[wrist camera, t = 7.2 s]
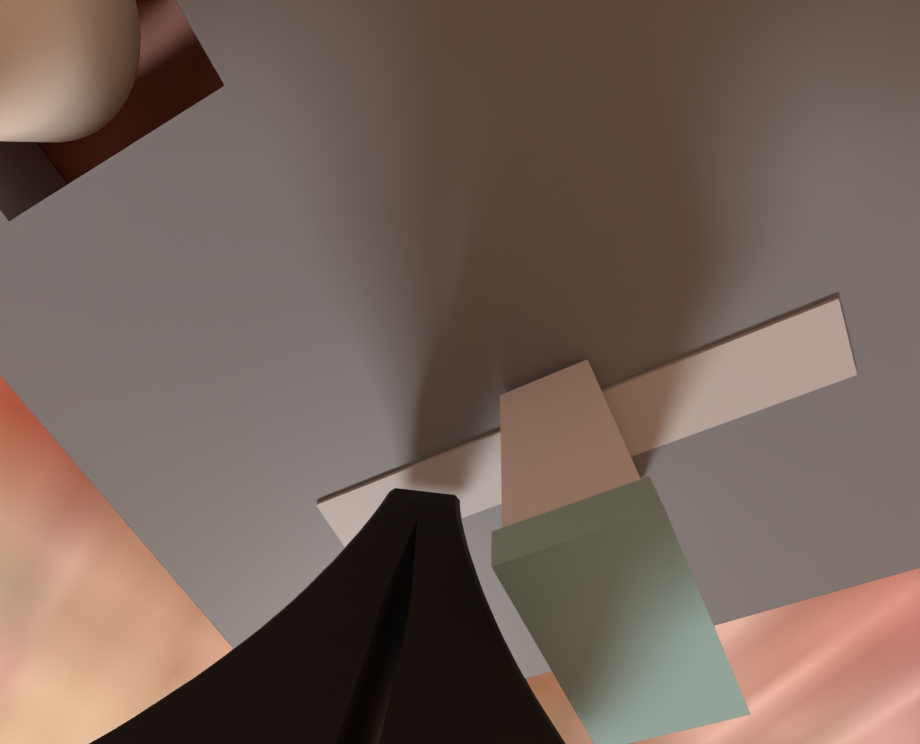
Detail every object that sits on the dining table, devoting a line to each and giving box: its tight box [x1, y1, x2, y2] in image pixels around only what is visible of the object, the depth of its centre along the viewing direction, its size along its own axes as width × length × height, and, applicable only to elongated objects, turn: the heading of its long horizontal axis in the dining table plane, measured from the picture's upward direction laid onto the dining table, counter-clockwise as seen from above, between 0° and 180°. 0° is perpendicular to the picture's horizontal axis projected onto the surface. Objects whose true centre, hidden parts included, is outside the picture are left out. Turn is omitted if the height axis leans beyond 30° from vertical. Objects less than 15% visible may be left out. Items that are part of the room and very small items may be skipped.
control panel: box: [0, 0, 920, 678], centre depth 10 cm, size 22×20×2 cm
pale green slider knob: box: [491, 359, 750, 744], centre depth 8 cm, size 3×2×5 cm, turn 26°
